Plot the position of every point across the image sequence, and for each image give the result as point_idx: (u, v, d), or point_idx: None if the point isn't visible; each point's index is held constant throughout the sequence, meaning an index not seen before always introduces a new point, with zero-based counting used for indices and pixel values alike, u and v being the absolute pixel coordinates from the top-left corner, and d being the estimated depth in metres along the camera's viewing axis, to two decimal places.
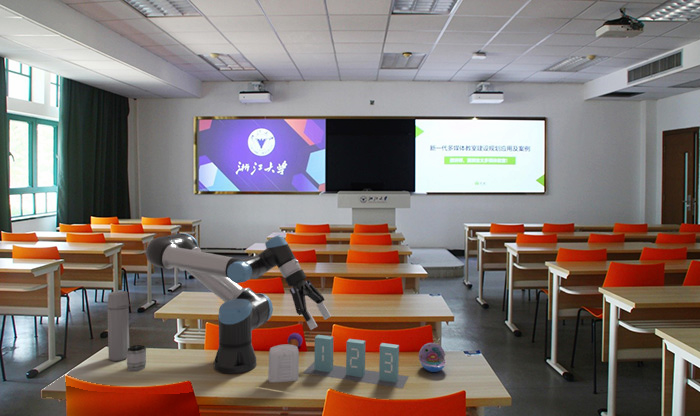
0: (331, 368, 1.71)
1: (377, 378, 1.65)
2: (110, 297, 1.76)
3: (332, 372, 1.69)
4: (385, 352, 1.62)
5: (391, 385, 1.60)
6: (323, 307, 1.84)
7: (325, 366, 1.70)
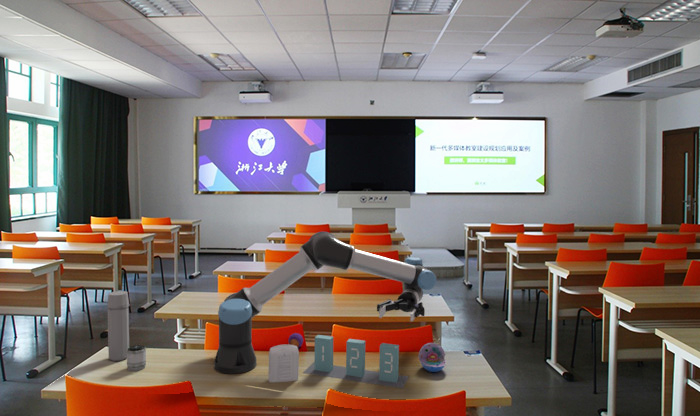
0: (331, 368, 1.71)
1: (377, 378, 1.65)
2: (110, 297, 1.76)
3: (332, 372, 1.69)
4: (385, 352, 1.62)
5: (391, 385, 1.60)
6: (384, 313, 1.77)
7: (325, 366, 1.70)
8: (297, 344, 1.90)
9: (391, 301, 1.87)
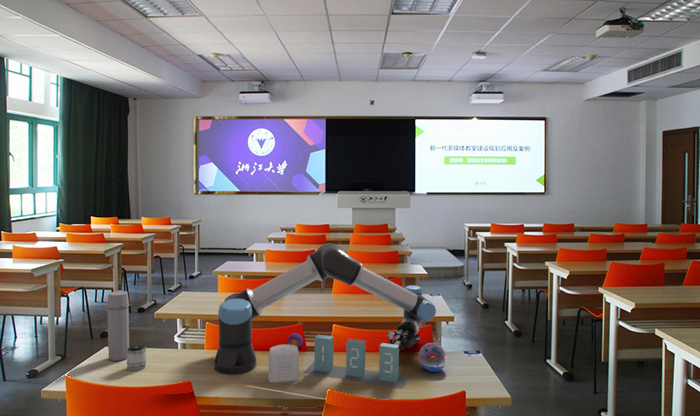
0: (331, 368, 1.71)
1: (377, 378, 1.65)
2: (110, 297, 1.76)
3: (332, 372, 1.69)
4: (385, 352, 1.62)
5: (391, 385, 1.60)
6: None
7: (325, 366, 1.70)
8: (297, 344, 1.90)
9: (393, 333, 1.87)
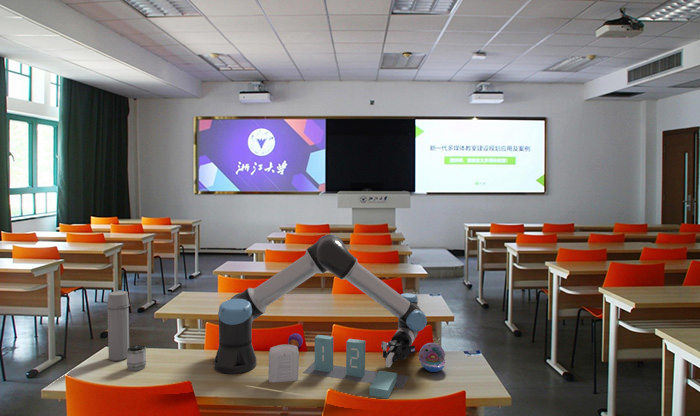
0: (331, 368, 1.71)
1: None
2: (110, 297, 1.76)
3: (332, 372, 1.69)
4: None
5: None
6: None
7: (325, 366, 1.70)
8: (297, 344, 1.90)
9: (386, 343, 1.78)
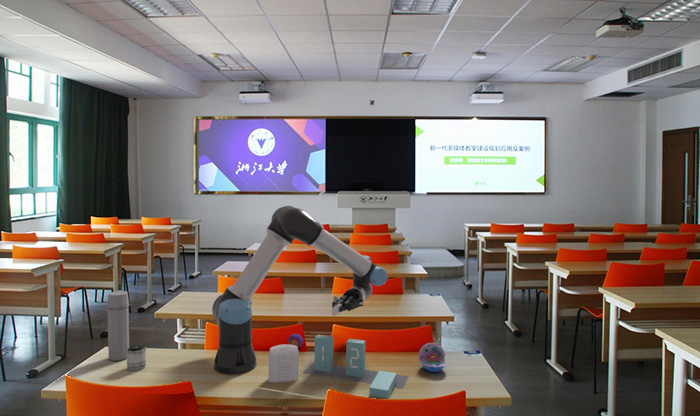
0: (331, 368, 1.71)
1: None
2: (110, 297, 1.76)
3: (332, 372, 1.69)
4: None
5: None
6: None
7: (325, 366, 1.70)
8: (297, 345, 1.90)
9: (338, 298, 1.93)
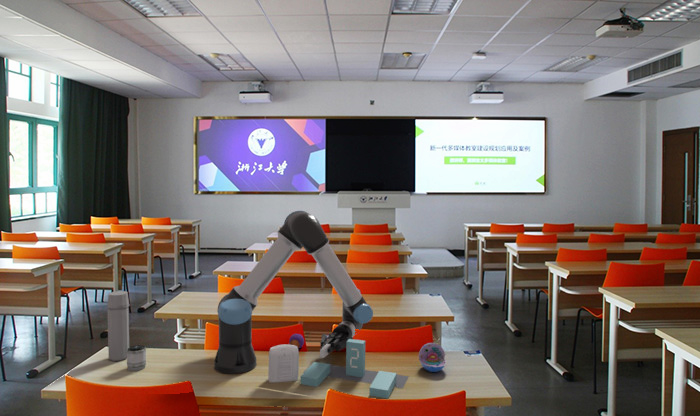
0: (329, 369, 1.68)
1: None
2: (110, 297, 1.76)
3: (332, 372, 1.69)
4: None
5: None
6: None
7: None
8: (298, 345, 1.89)
9: (326, 335, 1.86)
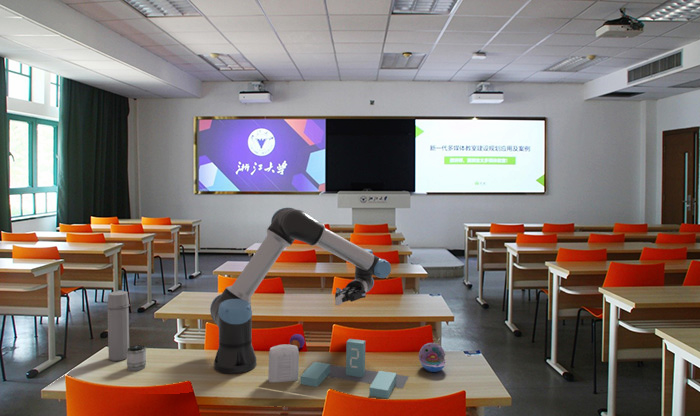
0: (329, 369, 1.68)
1: None
2: (110, 297, 1.76)
3: (332, 372, 1.69)
4: None
5: None
6: None
7: None
8: (298, 345, 1.89)
9: (340, 289, 1.96)
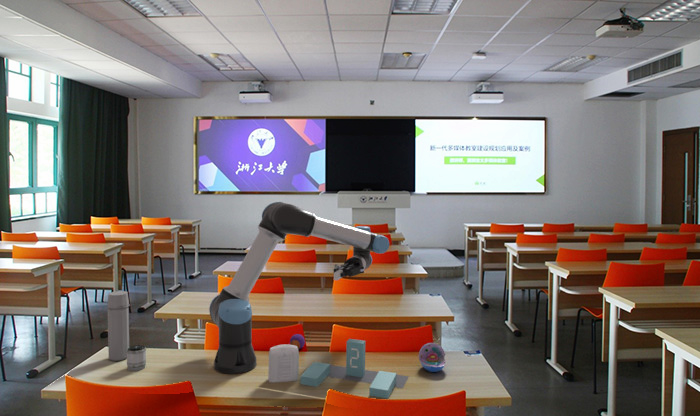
0: (329, 369, 1.68)
1: None
2: (110, 297, 1.76)
3: (332, 372, 1.69)
4: None
5: None
6: None
7: None
8: (298, 345, 1.89)
9: (339, 266, 1.96)
